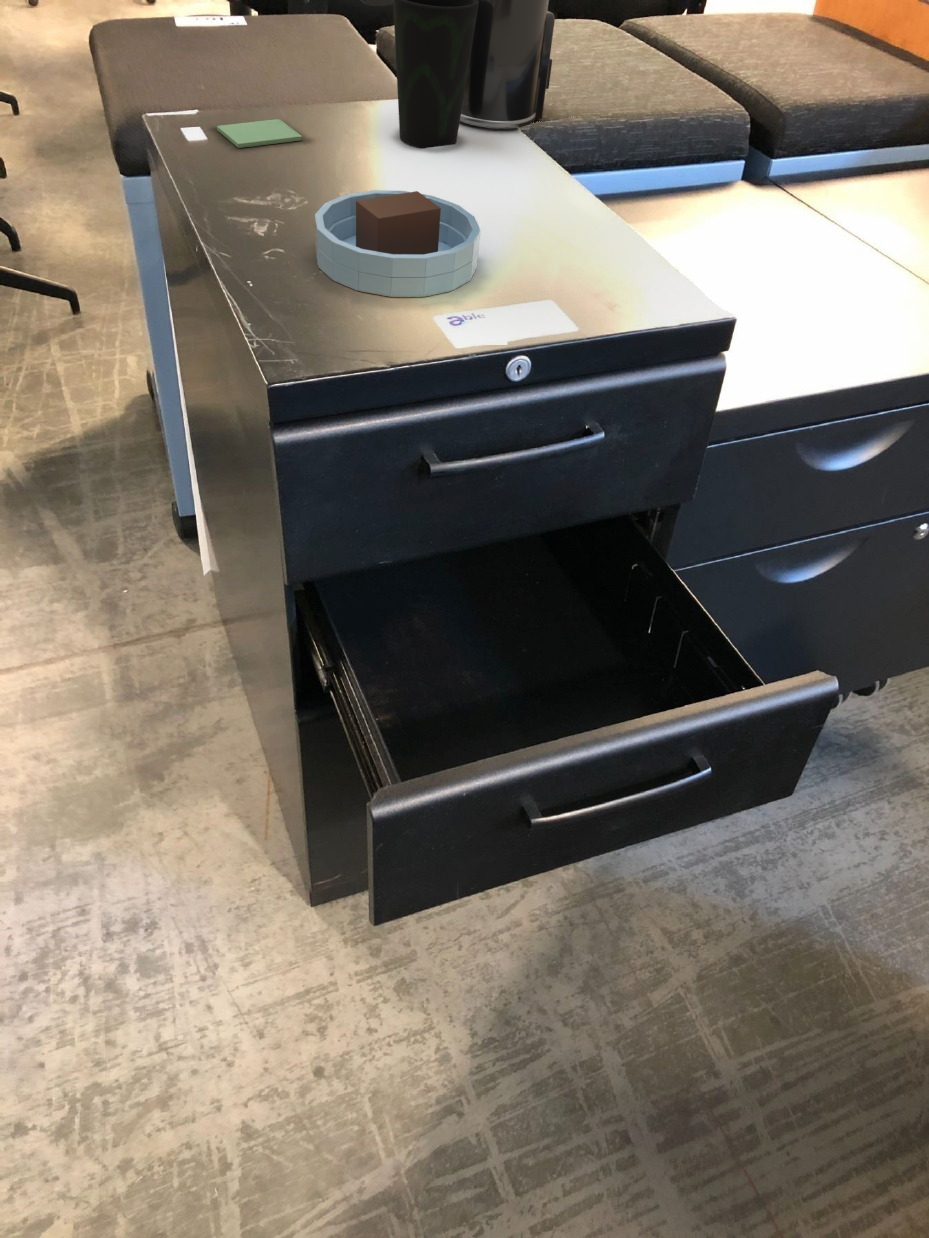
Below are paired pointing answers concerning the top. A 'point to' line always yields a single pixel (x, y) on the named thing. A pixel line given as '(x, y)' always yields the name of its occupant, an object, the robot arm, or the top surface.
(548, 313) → the top surface
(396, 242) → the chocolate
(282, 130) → the green rectangular slab
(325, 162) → the top surface
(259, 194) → the top surface
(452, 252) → the pan
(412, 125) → the cup
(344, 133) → the top surface
